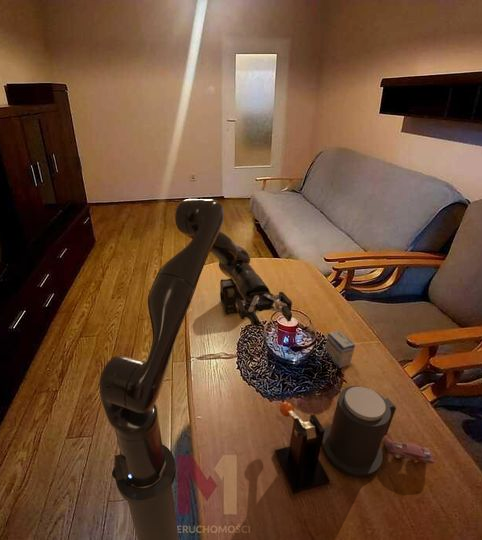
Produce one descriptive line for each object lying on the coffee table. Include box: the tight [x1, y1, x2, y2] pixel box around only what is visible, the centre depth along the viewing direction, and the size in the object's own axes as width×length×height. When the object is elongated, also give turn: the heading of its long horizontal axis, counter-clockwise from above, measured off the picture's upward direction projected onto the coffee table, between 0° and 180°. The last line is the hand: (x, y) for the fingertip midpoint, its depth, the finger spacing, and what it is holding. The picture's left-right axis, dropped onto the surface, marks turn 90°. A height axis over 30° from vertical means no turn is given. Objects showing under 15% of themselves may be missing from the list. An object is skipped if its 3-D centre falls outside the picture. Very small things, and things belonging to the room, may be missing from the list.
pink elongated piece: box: [384, 437, 435, 464], centre depth 83 cm, size 10×5×7 cm, turn 73°
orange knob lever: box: [279, 401, 316, 440], centre depth 82 cm, size 14×3×3 cm, turn 13°
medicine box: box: [324, 329, 356, 369], centre depth 112 cm, size 8×4×9 cm, turn 21°
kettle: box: [321, 385, 397, 479], centre depth 82 cm, size 15×14×18 cm
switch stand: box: [274, 413, 331, 495], centre depth 79 cm, size 10×9×16 cm
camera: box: [219, 277, 250, 315], centre depth 137 cm, size 11×14×15 cm
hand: (274, 321), depth 87 cm, fingers open, 8 cm apart
